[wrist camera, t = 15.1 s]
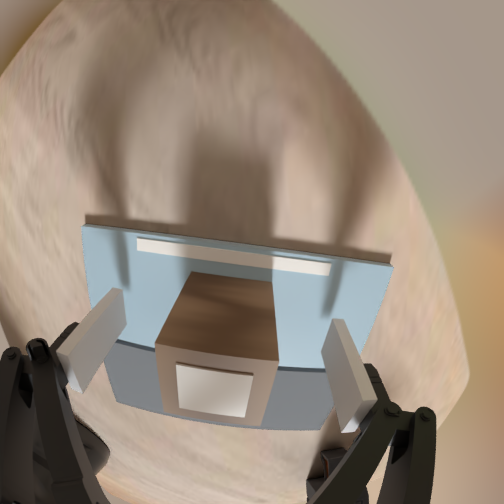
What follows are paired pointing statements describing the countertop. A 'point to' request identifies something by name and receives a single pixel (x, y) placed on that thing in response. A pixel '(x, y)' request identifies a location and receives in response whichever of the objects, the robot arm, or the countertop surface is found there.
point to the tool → (330, 463)
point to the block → (219, 350)
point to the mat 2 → (275, 418)
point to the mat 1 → (241, 266)
